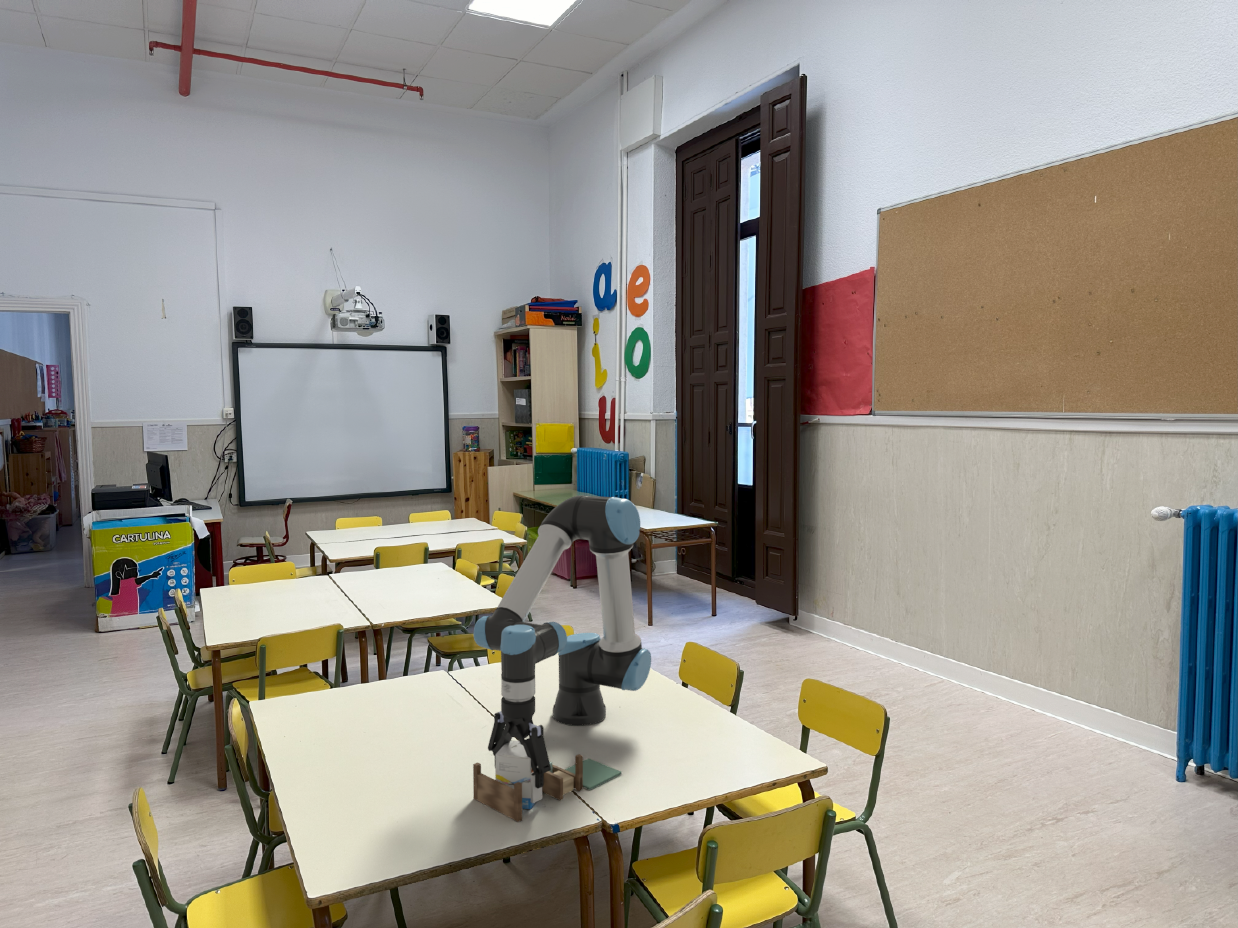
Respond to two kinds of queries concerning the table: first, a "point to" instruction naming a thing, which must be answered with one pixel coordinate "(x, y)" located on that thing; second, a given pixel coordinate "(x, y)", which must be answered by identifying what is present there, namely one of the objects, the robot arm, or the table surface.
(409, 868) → the table surface
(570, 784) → the offcut
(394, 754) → the table surface
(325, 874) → the table surface
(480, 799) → the rack
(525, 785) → the ink box
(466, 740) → the table surface
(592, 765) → the mat
